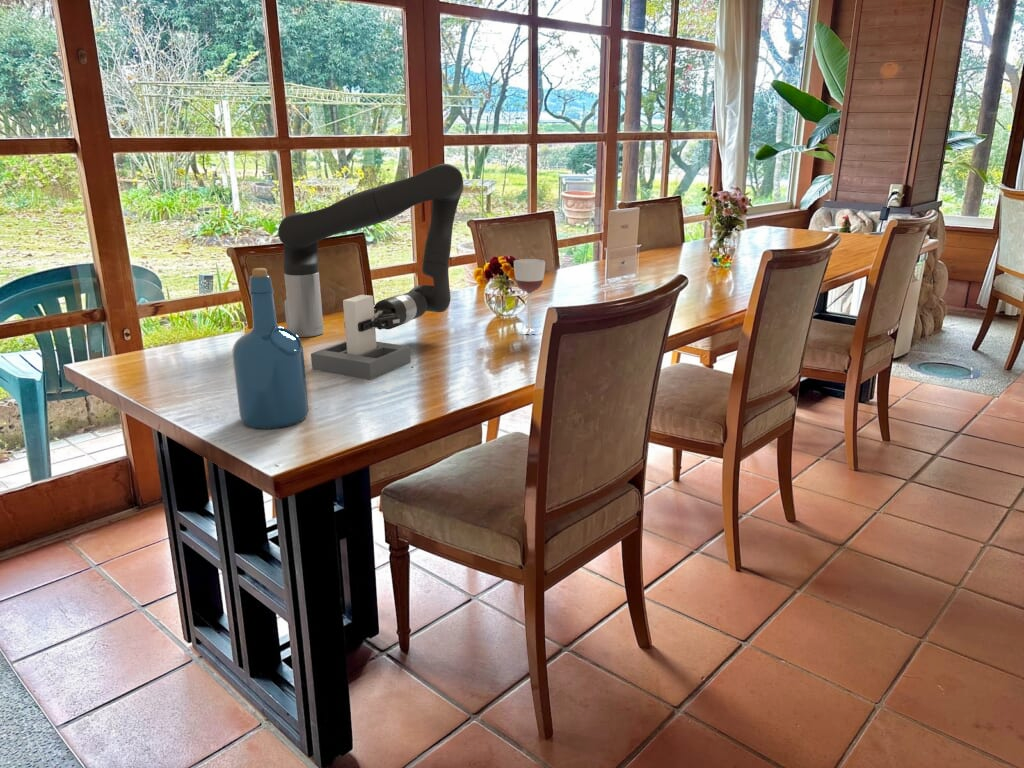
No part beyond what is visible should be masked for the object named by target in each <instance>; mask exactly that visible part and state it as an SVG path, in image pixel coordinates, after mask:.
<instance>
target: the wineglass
mask: <svg viewBox="0 0 1024 768" xmlns="http://www.w3.org/2000/svg"><path fill="white" fill-rule="evenodd" d="M545 269H546V261H545V260H543V259H538V258H521V259H516V260H513V270H514V271H513V272H514V277H515V283H516V285H517V287H518V288H519V289H520V290H522V291H524V292H526V293H527V328H523V329H524V330H522V331H523V332H531V331H535V330H533V329H534V328H531V323H532V321H531V319H532V317H531V316H532V315H531V310H532V308H531V307H532V306H531V305H532V303H531V302H532V300H531V297H532V295H531V294H532V293H533V292H535V291H537V290H538V289H540V288H541V287H542V285H543V282H544V278H545V271H546V270H545Z"/></svg>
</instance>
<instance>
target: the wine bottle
mask: <svg viewBox="0 0 1024 768" xmlns="http://www.w3.org/2000/svg"><path fill="white" fill-rule="evenodd" d="M274 293H275V290H274V288H273V282H272V279H271V275H269V274H268V270H267V268H264V267H256V268H253V269H251V275H250V276H249V295H250V298H251V299H250V300H251V310H252V311H251V313H252V314H251V315H252V328H251V330H250V331H249V332H247V333H245V334H244V335H241V337H239V338H238V339H237V340H236V341H235V343H234V344H233V347H232V349H231V353H232V363H233V371H234V378H235V386H236V395H237V405H238V411H239V416H240V417H239V418H240V421H241V422H242V424H243V425H244V426H247V427H250V428H253V429H271V430H272V429H278V428H285V427H290V426H292V425H295V424H297V423H300V422H302V421H303V420H304V419H305V418H306V417H307V416H308V414H309V409H310V408H309V401H308V389H307V380H306V379H307V377H306V367H305V366H306V365H305V356H304V354H305V353H304V348H303V343H302V340H301V339H300V338H301V337H298V336H297V335H296V334H295V333H293V332H291V331H290V330H288V329H287V327H283V326H278V322H277V316H276V315H277V314H276V309H275V307H276V306H275V300H274Z"/></svg>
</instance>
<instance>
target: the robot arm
mask: <svg viewBox="0 0 1024 768" xmlns="http://www.w3.org/2000/svg"><path fill="white" fill-rule="evenodd" d="M463 190H464V179H463V174H462V172H461V170H460V169H459V168H458V167H457V166H455V165H453V164H451V163H441V164H437V165H435V166H432V167H431V168H428V169H426V170H424V171H422V172H419V173H417V174H415V175H412V176H410V177H407V178H404V179H400V180H395V181H392V182H389V183H386V184H383V185H382V184H381V185H379V186H374V187H372V188H369V189H365V190H363V191H359V192H356V193H354V194H351V195H348V197H347V196H346V197H345V198H343V199H341V200H338V201H336V202H335V203H333V204H331V205H329V206H327V207H324V208H321V209H316V210H312V211H309V212H300V211H296V212H292V213H290V214H288V215H286V216H285V217H284V218H283V219H282V220H281V222H280V223H279V226H278V238H279V240H280V242H281V243H282V244H283V275H284V282H285V283H284V285H285V286H284V287H285V293H286V299H284V301H283V302H284V315H285V325H286V329H288V330H290V331H291V332H293V333H295V334H296V335H297V336H298V337H299V338H308V337H309V338H310V337H316V336H319V335H322V334H323V333H324V332H325V331H324V320H323V308H322V307H323V305H322V295H321V283H320V271H319V269H320V268H319V260H320V259H319V258H320V256H319V255H320V254H319V241H322V240H324V239H326V238H328V237H332V236H335V235H338V234H342V233H347V232H351V231H356V230H360V229H363V228H367V227H370V226H374V225H377V224H380V223H383V222H386V221H389V220H391V219H393V218H394V217H397V216H398V215H401V214H402V213H404V212H405V211H407V210H409V209H410V208H413V206H416V205H419V204H422V203H425V202H429V201H431V219H430V224H429V228H428V232H427V236H426V241H425V245H424V251H423V259H422V265H421V271H422V274H423V275H424V276H426V277H429V278H432V279H433V283H434V285H427V284H420V285H417V286H416V285H415V286H414V287H412V289H410V290H409V291H408V292H405V293H402V294H397V295H393V296H390V297H388V298H385V299H382V300H379V301H377V302H376V303H375V304H374V316H373V317H372V318H370V319H369V320H365V321H362V322H359V323H358V331H359V332H363V331H366V330H368V329H375V330H376V329H377V330H380V331H381V330H392V329H394V328H397V327H399V326H403V325H404V324H407V323H409V322H410V321H412V320H415V319H418V318H420V317H421V316H423V315H424V314H425V313H426V312H433V313H443V312H445V311H446V310H448V308H449V306H450V304H451V299H452V298H451V289H450V282H449V265H450V264H449V263H450V257H451V248H452V238H453V237H452V236H453V229H454V228H453V227H454V222H455V216H456V211H457V209H458V205H459V202H460V199H461V197H462V196H461V195H462V193H463ZM343 323H344V326H345V321H343Z"/></svg>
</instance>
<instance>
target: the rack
mask: <svg viewBox="0 0 1024 768" xmlns="http://www.w3.org/2000/svg"><path fill="white" fill-rule="evenodd" d="M376 345H377V348H375V349H373V350H370V351H368V352H365V353H363V354H360V355H358V356H357V355H351V354H347V343H346V340H345V341H342V342H338V343H336V344H333V345H331V346H328V347H325V348H322V349H320V350H317V351H313V352H312V353H310V360H311V370H312V369H313V371H317V370H318V371H319V372H324V373H329V374H336V375H341V376H348V377H353V378H359V379H364V380H370V381H371V380H373V379H376V378H378V377H380V376H383V375H385V374H387V373H389V372H392V371H394V370H395V369H398V368H400V367H403V366H405V365H407V364H410V363H411V361H412V360H411V346H409V345H404V344H403V345H401V344H395V343H390V342H389V343H388V342H383V341H378V340H376Z"/></svg>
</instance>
